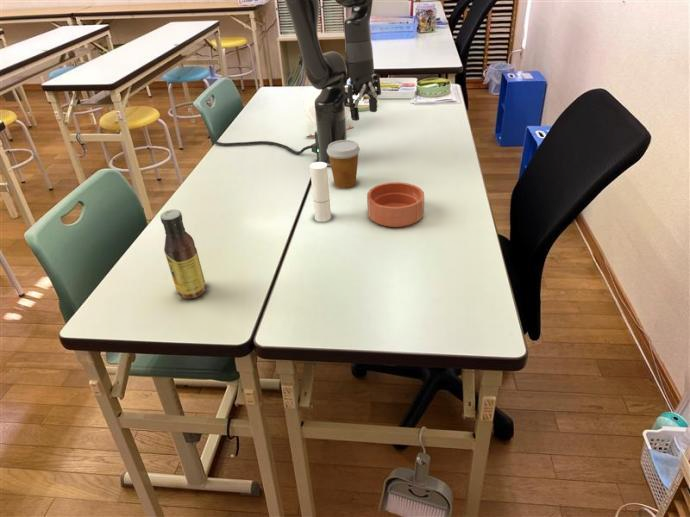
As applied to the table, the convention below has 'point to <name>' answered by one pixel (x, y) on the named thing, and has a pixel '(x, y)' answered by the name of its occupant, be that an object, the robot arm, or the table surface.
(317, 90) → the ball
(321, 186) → the tube
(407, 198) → the bowl
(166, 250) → the sauce bottle
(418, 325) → the table surface
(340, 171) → the disposable coffee cup
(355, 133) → the table surface
